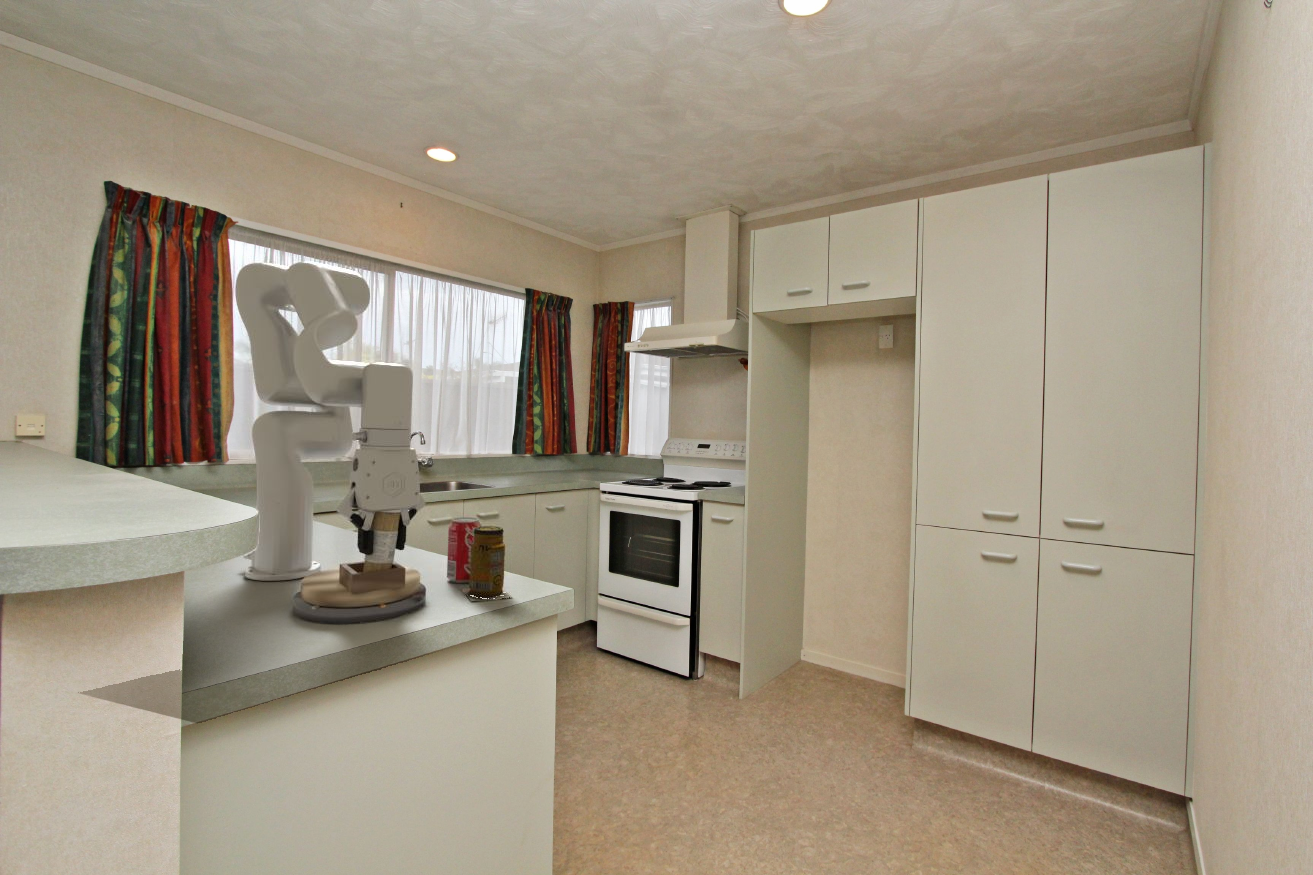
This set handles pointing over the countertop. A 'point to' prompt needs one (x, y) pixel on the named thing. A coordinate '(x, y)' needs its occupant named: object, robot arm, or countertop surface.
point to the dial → (359, 585)
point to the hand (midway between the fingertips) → (382, 549)
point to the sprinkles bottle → (383, 540)
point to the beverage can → (460, 548)
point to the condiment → (487, 565)
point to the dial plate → (358, 610)
